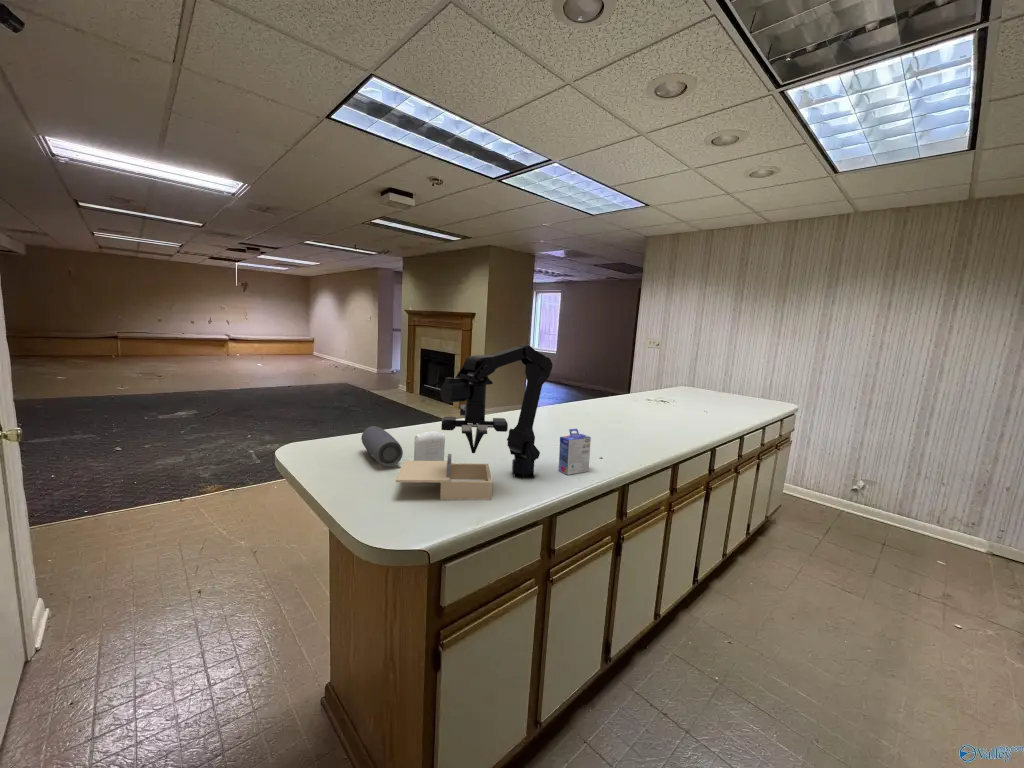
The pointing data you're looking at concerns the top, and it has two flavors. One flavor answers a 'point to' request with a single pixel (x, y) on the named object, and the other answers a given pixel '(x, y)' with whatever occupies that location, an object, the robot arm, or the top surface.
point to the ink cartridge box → (574, 453)
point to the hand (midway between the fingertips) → (473, 452)
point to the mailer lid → (425, 471)
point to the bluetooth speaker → (382, 446)
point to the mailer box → (468, 482)
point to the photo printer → (429, 446)
